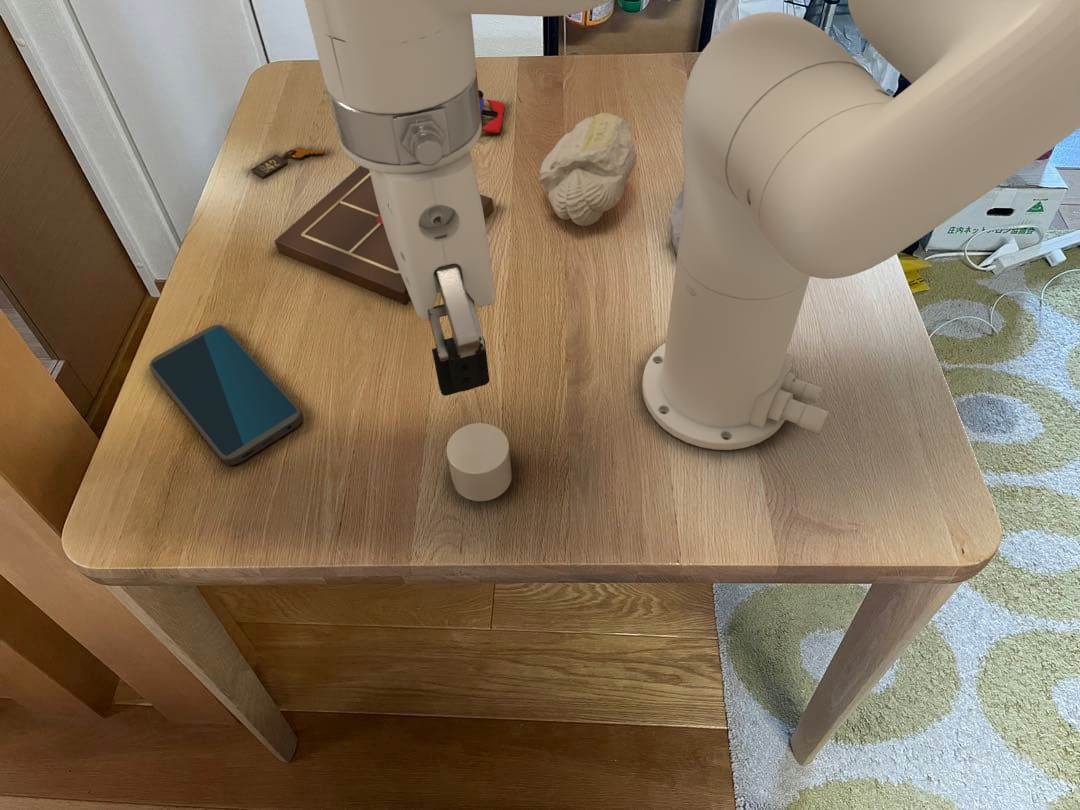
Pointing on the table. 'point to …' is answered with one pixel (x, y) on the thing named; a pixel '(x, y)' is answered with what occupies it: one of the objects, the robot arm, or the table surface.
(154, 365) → the smartphone
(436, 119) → the robot arm
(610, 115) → the fossil replica
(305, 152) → the key tag
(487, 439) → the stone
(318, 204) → the board
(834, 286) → the table surface
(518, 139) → the table surface
